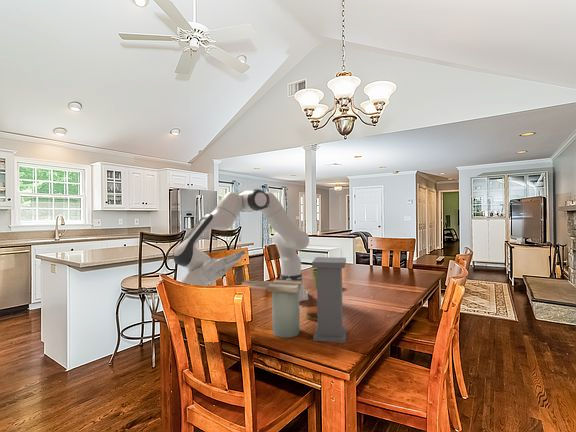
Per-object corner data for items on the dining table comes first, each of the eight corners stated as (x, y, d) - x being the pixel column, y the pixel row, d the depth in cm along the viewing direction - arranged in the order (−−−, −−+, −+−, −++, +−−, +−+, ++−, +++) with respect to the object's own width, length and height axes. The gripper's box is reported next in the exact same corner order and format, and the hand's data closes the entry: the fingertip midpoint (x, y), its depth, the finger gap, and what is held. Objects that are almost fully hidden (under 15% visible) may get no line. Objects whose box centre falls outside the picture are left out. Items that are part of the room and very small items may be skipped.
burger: (304, 320, 141) (304, 310, 141) (308, 313, 150) (308, 304, 150) (326, 322, 139) (326, 311, 138) (329, 315, 148) (329, 305, 147)
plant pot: (309, 285, 204) (309, 268, 204) (327, 284, 207) (327, 267, 206) (314, 290, 193) (314, 272, 193) (333, 289, 195) (332, 271, 195)
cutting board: (248, 283, 137) (248, 278, 137) (302, 285, 132) (302, 280, 132) (238, 290, 126) (238, 285, 126) (296, 292, 120) (296, 287, 120)
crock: (276, 326, 134) (276, 284, 134) (302, 328, 132) (301, 285, 132) (269, 336, 124) (268, 291, 123) (296, 338, 121) (296, 292, 121)
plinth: (317, 328, 131) (316, 257, 130) (346, 330, 128) (345, 257, 128) (313, 340, 119) (312, 262, 119) (345, 343, 116) (344, 262, 116)
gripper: (199, 267, 124) (226, 250, 122) (221, 258, 144) (245, 243, 142) (206, 281, 124) (234, 264, 121) (228, 270, 144) (252, 256, 141)
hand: (240, 253), depth 131 cm, fingers open, 8 cm apart
